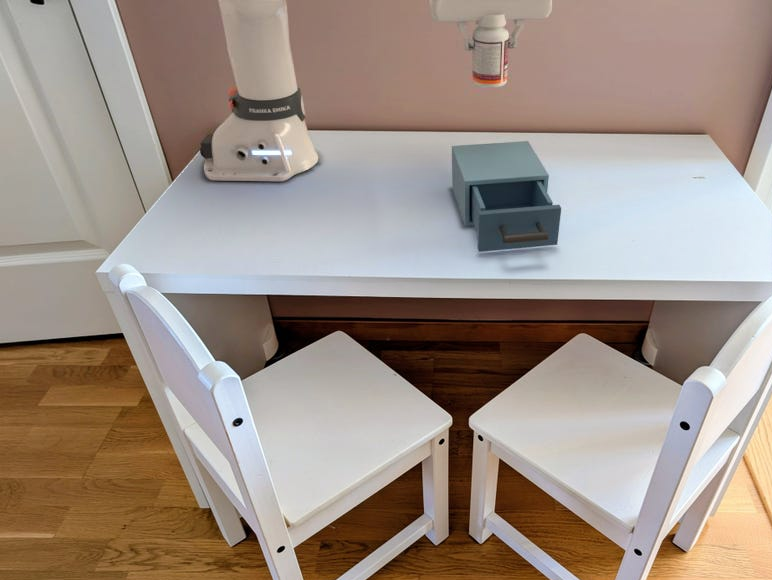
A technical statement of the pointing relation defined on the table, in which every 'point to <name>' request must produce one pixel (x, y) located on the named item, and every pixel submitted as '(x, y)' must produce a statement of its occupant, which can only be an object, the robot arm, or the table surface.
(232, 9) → the robot arm
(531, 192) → the drawer
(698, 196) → the table surface
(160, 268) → the table surface
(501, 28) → the pill bottle
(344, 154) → the table surface
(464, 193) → the cabinet
